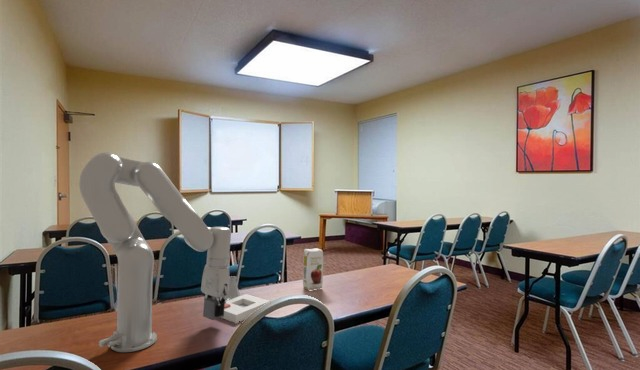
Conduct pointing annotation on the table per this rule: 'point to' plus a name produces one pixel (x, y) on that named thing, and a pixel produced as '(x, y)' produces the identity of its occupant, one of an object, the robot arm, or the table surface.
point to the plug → (211, 308)
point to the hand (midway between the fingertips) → (213, 313)
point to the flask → (233, 288)
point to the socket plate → (242, 307)
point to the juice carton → (313, 269)
